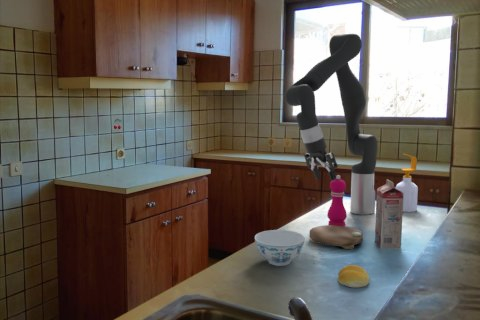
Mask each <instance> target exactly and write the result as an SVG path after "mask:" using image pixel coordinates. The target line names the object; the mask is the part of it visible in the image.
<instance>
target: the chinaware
mask: <svg viewBox="0 0 480 320" xmlns="http://www.w3.org/2000/svg"><path fill="white" fill-rule="evenodd" d="M305 239H306V237H304V235H303V234H301V233H299V232H297V231H293V230H287V229H285V230H284V229H273V230H272V229H270V230H264V231H261V232H260V231H259V232H258V233H256V234H255V235H254V243H255V245H256V248H257V250H258V252H259V253H260V254H261V256H262V257H264V259H266V260H267V262H268V264H270V265H273V266H277V267H284V266H287V265H289V264H291V261H292V260H294V259H295V258H297V256H298V255H299V254H300V253H301V251H302V250H303V246H304V244H305Z"/></svg>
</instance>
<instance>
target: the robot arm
mask: <svg viewBox="0 0 480 320" xmlns="http://www.w3.org/2000/svg"><path fill="white" fill-rule="evenodd" d="M362 44H363V43H362V38H361V37H360V35H358V34H356V33H355V32H353V33H351V32H349V33H347V32H346V33H340V34H339V33H338V34H334V35H332V36H331V38H330V39H329V44H328V45H329V46H328V48H329V53H330V56H328V57H326V58H325V59H323V60H321V61H318V63H316V64H314V66H313V67H312V68H311V69H310V70H309V71H308V72H307V73H306V74H305V75H304V76H303V77H302V78H300V79H298V80H297V81H296V82H294V83H293V84H291V86H289V87H288V89H287V90H286V92H285V101H286V103H287V104H288V105H289V106H292V107H297V106H300V112H299V113H297V114H296V121H297V125H298V127H299V131H300V135H301V139H302V142H303V146H304V149H305V152H306V153H305V154H303V155H304V159H305V163H306V165H307V166H306V167H307V169H308V170H309V169H310V170H311V171H312V173H313V175H314V177H315V180H319V179H321V178H322V175H321V172H320V170H319V166H322V167H323V168H325V169H326V171H328V176H329V178H330V182H331V181H334V180H335V179H336V176H337V174H336V171H335V169H337V168H338V163H337V160H336V157H335V155H334V152H332V151H330V152H329V153H328V152H327V151H326V149H327V143H326V140H325V137H324V133H323V130H322V128H321V126H320V123H319V120H318V117H317V114H316V112H317V111H316V98H315V97H316V96H315V92H316V91H318V90H319V89H320V88H321V87H322V86H324V84H325V83H326V82H327V81H328V80H329V79H330V78H331V77H332V76H333V75H334V74H336V79H337V82H338V87H339V94H340V98H341V105H342V109H343V114H344V120H345V125H346V127H345V128H346V136H347V137H346V139H347V147H348V150H349V153H350V154H351V155H353V156H356V157H361V158H362V159H361V162H359V163H355V164H353V165H352V166H351V179H350V180H351V181H350V183H351V184H350V213H352V214H354V215H363V216H364V215H365V216H366V215H367V216H368V215H372V214H374V213H376V190H375V187H374V186H375V169H376V165H377V159H378V158H377V157H378V156H377V155H378V148H379V147H378V143H379V142H378V139H377V137H376V136H375V135H374V134H364V133H361V130H360V119H361V117H362V115H363V113H364V111H365V108H366V105H367V104H366V103H367V101H366V95H365V90H364V86H363V85H362V83H361V82H360V80H359V79H358V77H357V76H356V75H355V73H354V72H353V71H352V69H351V68H350V64H349V63H350V61H351V60H353V59H354V58H356V57H358V55H359V54H360V52H361V50H362V47H363V45H362Z"/></svg>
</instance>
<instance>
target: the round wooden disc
mask: <svg viewBox="0 0 480 320" xmlns="http://www.w3.org/2000/svg"><path fill="white" fill-rule="evenodd" d="M308 235H309V239H310V242H312V243H317V244H318V243H319V244H321V245H326V246H334V247H335V246H336V247H338V246H339V247H341V248H342V249H345V250H353V249H354V247H355V245H358V244H360V243H362V242H363V239H364V234H363V232H362V231H361V230H359V229H357V228H354V227H351V226H346V225H345V226H338V225H319V226H315V227H312V228H311V229H309V234H308Z"/></svg>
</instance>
